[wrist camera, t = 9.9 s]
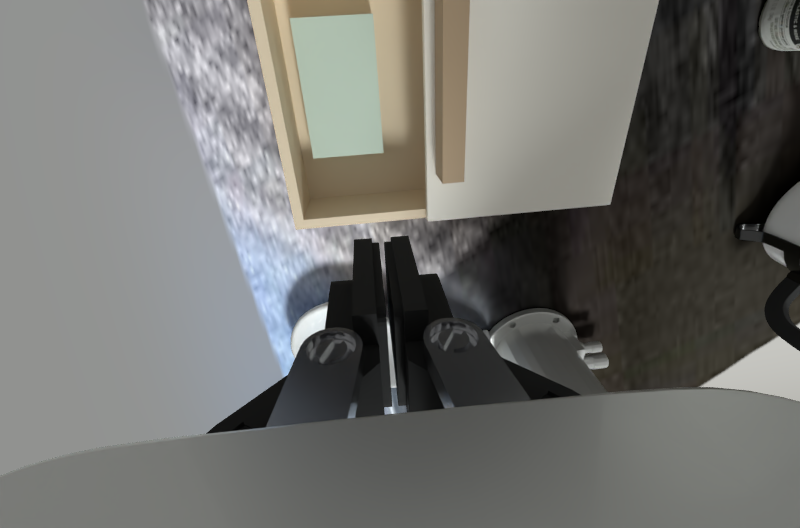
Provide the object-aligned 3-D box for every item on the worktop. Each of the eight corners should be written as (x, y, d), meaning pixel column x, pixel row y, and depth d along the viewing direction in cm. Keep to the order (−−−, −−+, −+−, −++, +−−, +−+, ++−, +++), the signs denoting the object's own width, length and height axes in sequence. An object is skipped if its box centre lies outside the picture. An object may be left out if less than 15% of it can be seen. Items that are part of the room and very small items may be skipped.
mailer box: (472, -70, 27) (500, -100, 22) (464, 190, 37) (482, 212, 32) (253, -61, 26) (228, -89, 21) (304, 204, 36) (295, 229, 31)
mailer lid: (675, -107, 23) (723, -130, 20) (604, 201, 33) (629, 215, 30) (419, -97, 22) (429, -121, 19) (426, 218, 32) (433, 234, 29)
